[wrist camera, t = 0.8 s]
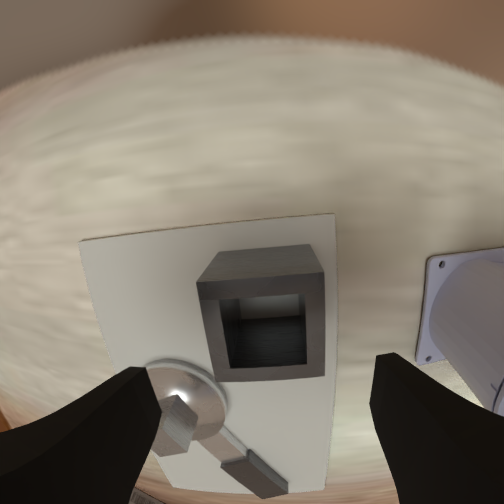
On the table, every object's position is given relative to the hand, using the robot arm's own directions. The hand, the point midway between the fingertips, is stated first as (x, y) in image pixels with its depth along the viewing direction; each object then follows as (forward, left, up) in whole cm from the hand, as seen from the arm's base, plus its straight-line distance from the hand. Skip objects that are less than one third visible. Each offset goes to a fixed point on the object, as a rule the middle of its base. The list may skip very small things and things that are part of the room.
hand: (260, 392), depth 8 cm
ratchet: (+5, +13, -9) cm, 16 cm away
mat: (+4, +10, -9) cm, 14 cm away
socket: (0, 0, -9) cm, 9 cm away
